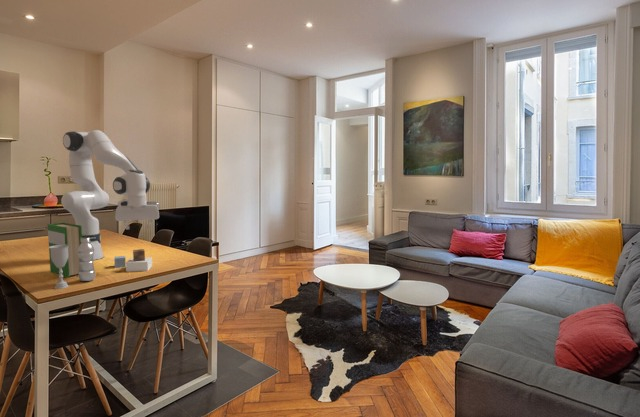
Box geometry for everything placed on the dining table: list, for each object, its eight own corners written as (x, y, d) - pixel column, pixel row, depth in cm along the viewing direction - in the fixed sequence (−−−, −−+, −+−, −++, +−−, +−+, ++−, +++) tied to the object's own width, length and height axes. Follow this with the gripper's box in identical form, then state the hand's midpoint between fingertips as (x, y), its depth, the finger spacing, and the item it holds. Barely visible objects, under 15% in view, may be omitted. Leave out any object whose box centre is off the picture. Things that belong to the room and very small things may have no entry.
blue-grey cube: (114, 268, 192) (114, 258, 192) (115, 265, 197) (114, 256, 196) (125, 266, 195) (125, 257, 194) (125, 264, 199) (125, 255, 199)
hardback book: (84, 274, 180) (81, 225, 177) (67, 277, 174) (64, 227, 171) (67, 268, 189) (64, 222, 187) (50, 272, 183) (47, 224, 181)
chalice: (67, 283, 165) (65, 244, 163) (74, 286, 161) (72, 245, 159) (48, 287, 159) (45, 246, 157) (55, 290, 155) (52, 248, 153)
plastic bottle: (83, 278, 172) (81, 236, 170) (98, 278, 173) (96, 236, 171) (75, 283, 166) (73, 239, 164) (91, 282, 166) (89, 239, 164)
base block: (126, 272, 185) (125, 262, 185) (131, 267, 195) (131, 258, 194) (147, 271, 187) (147, 261, 187) (152, 266, 197) (151, 257, 197)
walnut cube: (134, 261, 187) (133, 251, 187) (133, 259, 191) (133, 250, 191) (144, 260, 190) (144, 250, 189) (144, 258, 194) (143, 249, 193)
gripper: (158, 200, 195) (159, 226, 197) (114, 201, 186) (115, 229, 187) (159, 201, 190) (160, 228, 191) (114, 202, 180) (115, 230, 182)
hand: (138, 228), depth 189 cm, fingers open, 8 cm apart
